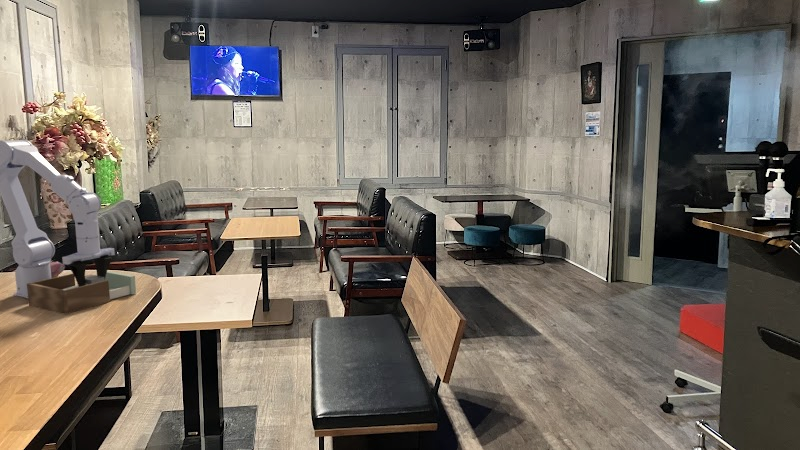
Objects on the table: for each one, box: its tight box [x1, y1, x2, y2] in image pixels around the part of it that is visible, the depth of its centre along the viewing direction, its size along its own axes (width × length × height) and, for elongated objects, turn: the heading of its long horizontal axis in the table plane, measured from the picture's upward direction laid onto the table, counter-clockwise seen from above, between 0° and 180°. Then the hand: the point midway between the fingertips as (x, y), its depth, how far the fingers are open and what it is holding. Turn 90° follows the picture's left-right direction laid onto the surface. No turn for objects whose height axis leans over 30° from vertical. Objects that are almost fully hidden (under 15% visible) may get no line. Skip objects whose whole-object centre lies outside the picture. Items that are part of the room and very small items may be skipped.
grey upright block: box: [85, 274, 105, 285], centre depth 177 cm, size 4×6×5 cm
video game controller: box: [50, 261, 66, 278], centre depth 197 cm, size 10×5×7 cm, turn 169°
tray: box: [61, 270, 137, 300], centre depth 179 cm, size 15×14×5 cm
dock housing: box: [27, 273, 111, 315], centre depth 172 cm, size 16×13×6 cm
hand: (91, 284), depth 177 cm, fingers open, 5 cm apart
